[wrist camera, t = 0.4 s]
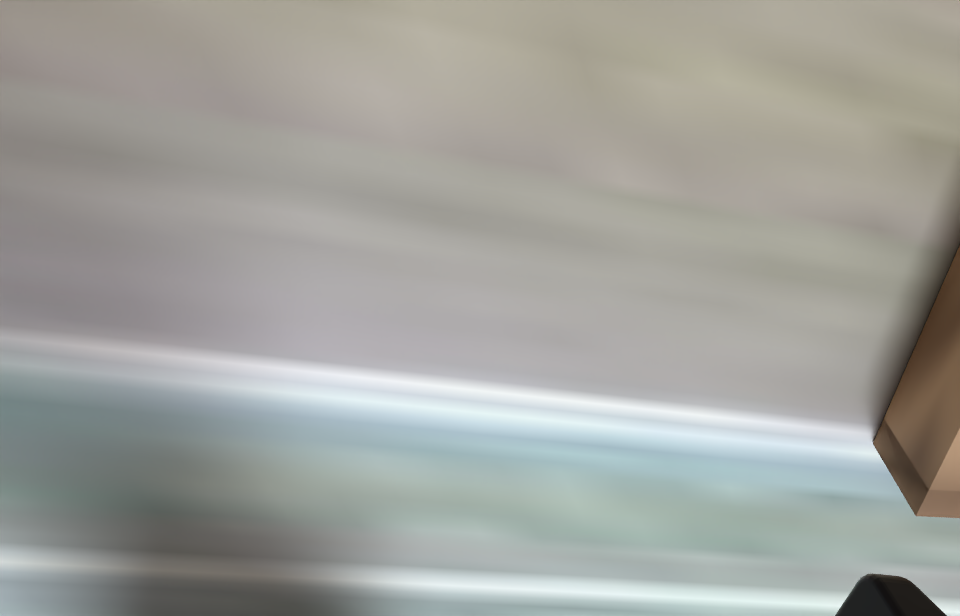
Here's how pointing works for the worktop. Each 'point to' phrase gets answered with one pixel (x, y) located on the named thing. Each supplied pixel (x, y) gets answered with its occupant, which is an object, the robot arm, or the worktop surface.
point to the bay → (929, 412)
